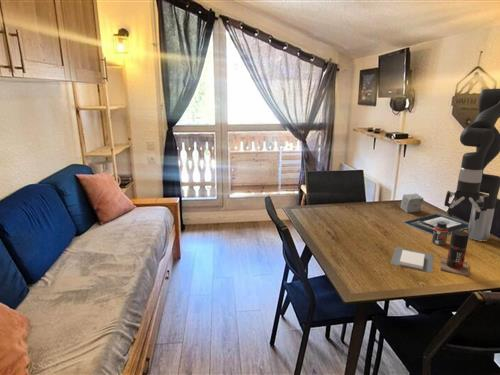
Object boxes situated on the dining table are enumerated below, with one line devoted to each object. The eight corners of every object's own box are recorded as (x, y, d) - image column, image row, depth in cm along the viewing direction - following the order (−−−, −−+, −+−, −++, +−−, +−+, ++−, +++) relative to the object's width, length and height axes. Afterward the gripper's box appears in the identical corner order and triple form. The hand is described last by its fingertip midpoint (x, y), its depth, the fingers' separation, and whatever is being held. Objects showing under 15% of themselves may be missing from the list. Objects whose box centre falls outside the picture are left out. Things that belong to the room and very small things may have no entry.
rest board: (440, 259, 147) (440, 257, 147) (467, 264, 143) (467, 262, 142) (440, 271, 137) (440, 269, 137) (468, 277, 133) (469, 275, 132)
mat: (395, 248, 158) (395, 247, 158) (433, 255, 151) (433, 254, 150) (390, 264, 143) (390, 263, 143) (431, 273, 136) (432, 272, 135)
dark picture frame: (402, 224, 189) (403, 220, 188) (437, 215, 201) (438, 212, 201) (437, 238, 170) (438, 234, 169) (473, 227, 182) (474, 224, 182)
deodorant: (456, 262, 143) (462, 230, 139) (465, 269, 137) (472, 235, 133) (443, 262, 143) (449, 230, 138) (452, 269, 137) (458, 236, 133)
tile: (402, 249, 152) (399, 261, 142) (424, 254, 147) (423, 266, 137) (402, 253, 152) (399, 264, 142) (424, 257, 148) (422, 269, 138)
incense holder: (407, 214, 203) (410, 197, 200) (399, 209, 210) (401, 193, 208) (422, 212, 204) (424, 196, 201) (413, 208, 212) (415, 192, 209)
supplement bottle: (438, 247, 159) (442, 225, 156) (429, 242, 164) (432, 221, 161) (448, 245, 160) (452, 224, 157) (438, 240, 166) (442, 219, 163)
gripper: (490, 179, 129) (483, 218, 134) (448, 175, 136) (442, 212, 140) (492, 184, 123) (484, 224, 127) (448, 179, 130) (442, 218, 134)
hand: (462, 218), depth 134 cm, fingers open, 8 cm apart
